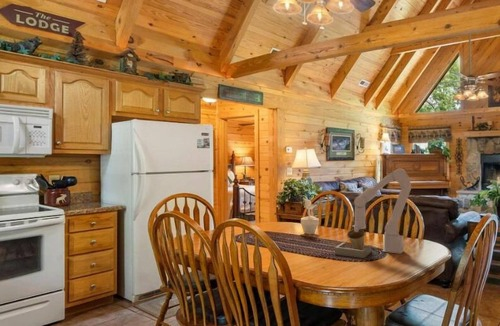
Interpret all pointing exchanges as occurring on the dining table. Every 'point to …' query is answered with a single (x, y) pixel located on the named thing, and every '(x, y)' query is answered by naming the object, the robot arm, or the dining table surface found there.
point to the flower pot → (356, 239)
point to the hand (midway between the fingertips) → (359, 242)
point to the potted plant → (309, 219)
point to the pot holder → (352, 251)
